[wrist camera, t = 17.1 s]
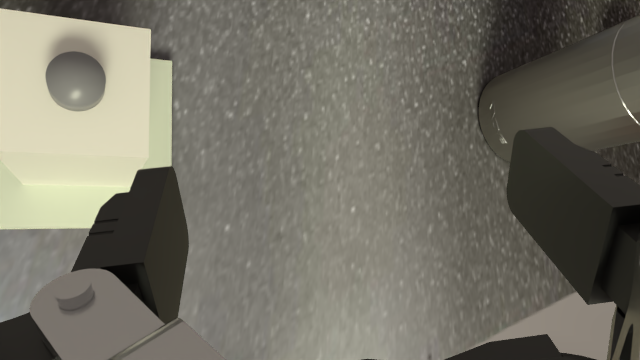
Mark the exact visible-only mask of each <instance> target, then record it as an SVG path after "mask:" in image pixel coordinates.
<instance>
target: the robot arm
mask: <svg viewBox="0 0 640 360" xmlns="http://www.w3.org/2000/svg"><path fill="white" fill-rule="evenodd" d="M479 121H480V126H481V130H482V132H483V135H484V138H485V139H486V141H487V143H488V145H489V146H490V147H491V149H492V150H493V151H494V152H495V153H496V154H497V155H498V156H499V157H500V158H502V159H503V160H505V161H507V162H509V163H510V169H509V176H508V183H507V200H508V204H509V207H510V209H511V211H512V213H513V214H514V216H515V217H516V218H517V219H518V220H519V222H520V223H521V224H522V225H523V227H524V228H525V229H526V230H527V231H528V233H529V234H530V235H531V236H532V237H533V239H534V240H535V241H536V242H537V244H538V245H539V246H540V247H541V248H542V250H543V251H544V252H545V253H546V255H547V256H548V257H549V258H550V259H551V261H552V262H553V263H554V264H555V265H556V267H557V268H558V269H559V270H560V272H561V273H562V274H563V275H564V276H565V278H566V279H567V280H568V281H569V283H570V284H571V285H572V286H573V287H574V289H575V290H576V291H577V292H578V293H579V295H580V296H581V297H582V298H583V300H584V301H585V302H586V303H587V304H588V305H590V304H597V303H605V302H612V301H614V303H615V304H616V309H615V312H614V315H613V319H612V325H611V333H610V340H609V347H608V354H607V360H640V186H639V185H638V184H637V183H636V182H634V181H633V180H632V179H630V178H629V177H628V176H623V173H622V172H621V171H620V170H618V169H617V168H616V167H614V166H613V167H611V164H610V163H609V162H608V161H606V160H605V159H604V158H602V157H601V156H600V155H598V154H597V153H595V152H593V151H594V150H599V149H604V148H609V147H613V146H618V145H623V144H628V143H633V142H638V141H640V15H638V16H635V17H633V18H631V19H629V20H627V21H624V22H622V23H620V24H617V25H615V26H613V27H610V28H608V29H606V30H604V31H601V32H599V33H597V34H594V35H592V36H590V37H587V38H585V39H583V40H580V41H578V42H576V43H573V44H571V45H569V46H567V47H564V48H562V49H560V50H557V51H555V52H553V53H550V54H548V55H546V56H543V57H541V58H539V59H536V60H534V61H532V62H529V63H527V64H525V65H522V66H520V67H518V68H515V69H513V70H511V71H508V72H506V73H504V74H502V75H499V76H497V77H495V78H493V79H492V80H491V81H490V82H489V83H488V84H487V85H486V87H485V88H484V90H483V92H482V95H481V98H480V103H479ZM188 247H189V240H188V229H187V223H186V219H185V214H184V209H183V205H182V200H181V196H180V191H179V187H178V182H177V178H176V174H175V171H174V168H173V167H172V166H168V167H158V168H149V169H139V170H138V171H137V173H136V175H135V178H134V180H133V183H132V186H131V188H130V191H129V192H125V193H116V194H115V195H114V196H113V197H111V198H110V199H109V200H108V201H107V202H106V203H105V204H104V205H102V206H101V208H100V210H99V212H98V214H97V216H96V218H95V221H94V224H93V225H92V227H91V229H90V232H89V236H87V238H86V240H85V242H84V245H83V247H82V249H81V251H80V253H79V256H78V258H77V260H76V262H75V264H74V267H73V269H72V271H71V273H68V274H65V275H63V276H60V277H58V278H57V279H55V280H53V281H51V282H50V283H48V284H47V285H46V286H44V287H43V288H42V289H41V290H40V291H39V292H38V293H37V294H36V295H35V297H34V298H33V300H32V302H31V305H30V312H29V313H27V314H24V315H22V316H19V317H16V318H13V319H10V320H7V321H4V322H1V323H0V360H226V359H225V358H224V357H223V356H222V355H221V354H220V353H218V352H217V351H216V350H215V349H214V348H213V347H212V346H211V345H210V344H209V343H208V342H207V341H205V340H204V339H203V338H202V337H201V336H200V335H199V334H198V333H197V332H196V331H195V330H194V329H193V328H191V327H190V326H189V325H188V324H187V323H186V322H185V321H183V320H182V319H180V318H178V312H179V305H180V299H181V293H182V287H183V280H184V274H185V268H186V262H187V256H188ZM363 360H375V359H363ZM445 360H596V359H591V358H587V357H584V356H579V355H573V354H567V353H560V352H559V351H558V349H557V348H556V346H555V345H554V343H553V342H552V340H551V339H550V337H549V336H548V335H547V334H545V335H537V336H530V337H523V338H515V339H508V340H501V341H494V342H489V343H486V344H483V345H481V346H478V347H476V348H473V349H471V350H468V351H465V352H463V353H460V354H458V355H455V356H453V357H450V358H448V359H445Z"/></svg>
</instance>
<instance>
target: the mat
mask: <svg viewBox="0 0 640 360" xmlns="http://www.w3.org/2000/svg"><path fill="white" fill-rule="evenodd" d="M171 141H172V61H168V60H159V59H150V108H149V158H148V160H147V161H146V163H145V164H144V166H143V168H142V169H149V168H158V167H168V166H171ZM131 186H132V185H131ZM131 186H130V187H107V186H62V185H23V184H22V183H21V182H20V181H19V180H18V179H17V178H16V177H15V176H14V174H13V173H12V172H11V171H10V170H9V169H8V168H7V167H6V166H5V165H4V164H3V163H2V162H1V161H0V229H63V228H91V227H92V225H93V224H94V221H95V218H96V216H97V214H98V212H99V210H100V208H101V206H102V205H104V204H105V203H106V202H107V201H108V200H109V199H110V198H111V197H113V196H114V195H115V194H116V193H125V192H129V191H130V188H131Z"/></svg>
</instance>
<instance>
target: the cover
mask: <svg viewBox="0 0 640 360" xmlns="http://www.w3.org/2000/svg"><path fill="white" fill-rule="evenodd" d="M150 51H151V29H144V28H137V27H130V26H123V25H115V24H108V23H101V22H94V21H87V20H79V19H72V18H65V17H58V16H50V15H43V14H36V13H29V12H22V11H14V10H7V9H0V161H1V162H2V163H3V164H4V165H5V166H6V167H7V168H8V169H9V170H10V171H11V172H12V173H13V174H14V176H15V177H16V178H17V179H18V180H19V181H20V182H21V183H22V184H23V185H62V186H107V187H130V186H131V185H132V183H133V180H134V178H135V175H136V173H137V171H138V170H139V169H142V168H143V166H144V164H145V163H146V161H147V160H148V158H149V108H150Z"/></svg>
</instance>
